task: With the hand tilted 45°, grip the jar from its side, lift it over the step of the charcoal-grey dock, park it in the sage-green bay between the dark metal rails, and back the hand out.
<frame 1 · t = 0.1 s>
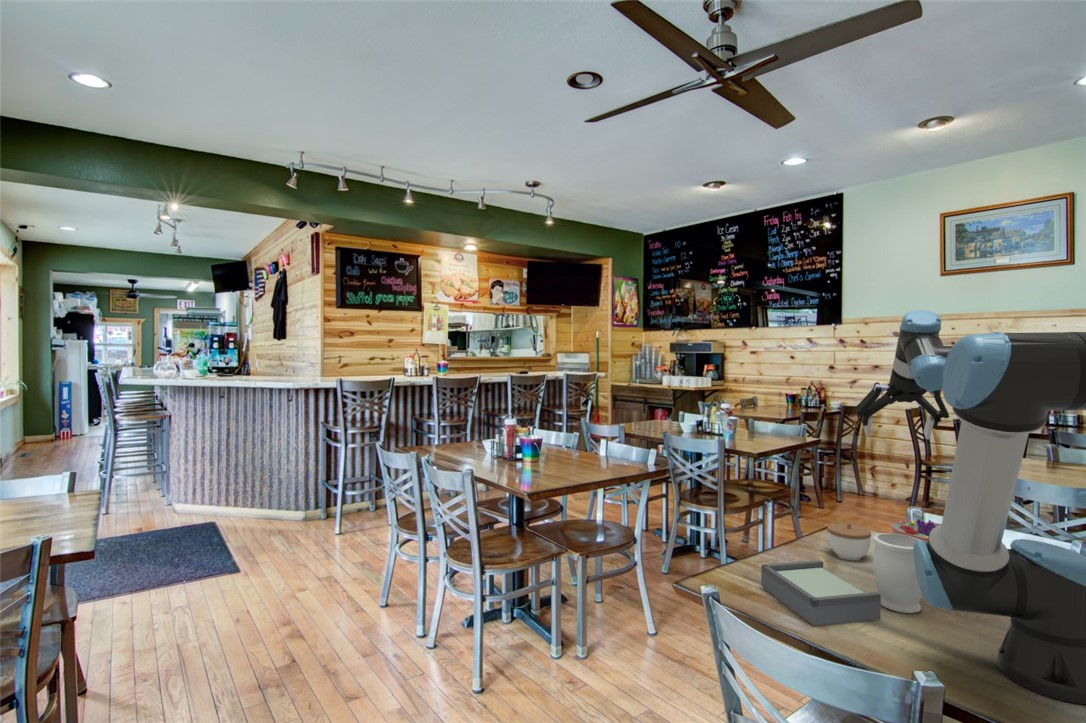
hand: (896, 434, 149), 36 cm above the table, tool tilted 35°, fingers open, 13 cm apart
lidded jar: (848, 557, 160), on the table
cell model: (931, 561, 157), on the table
dock: (817, 602, 132), on the table
jar: (898, 606, 130), on the table
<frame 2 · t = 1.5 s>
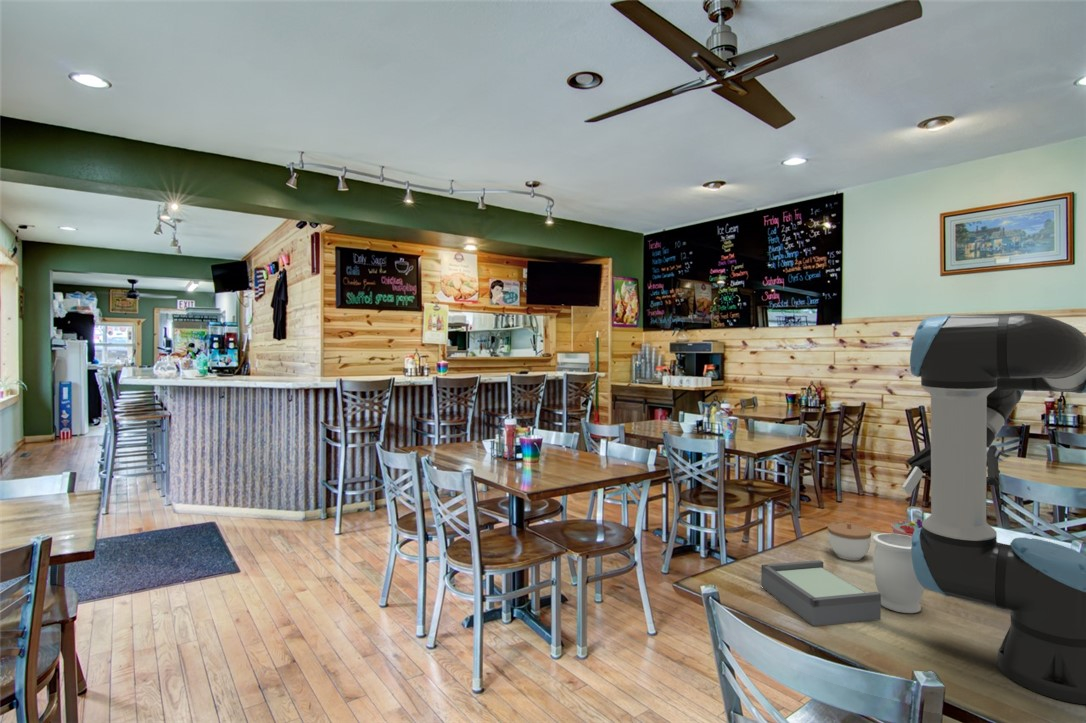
hand: (933, 497, 133), 23 cm above the table, tool tilted 45°, fingers open, 13 cm apart
nothing on the table moved.
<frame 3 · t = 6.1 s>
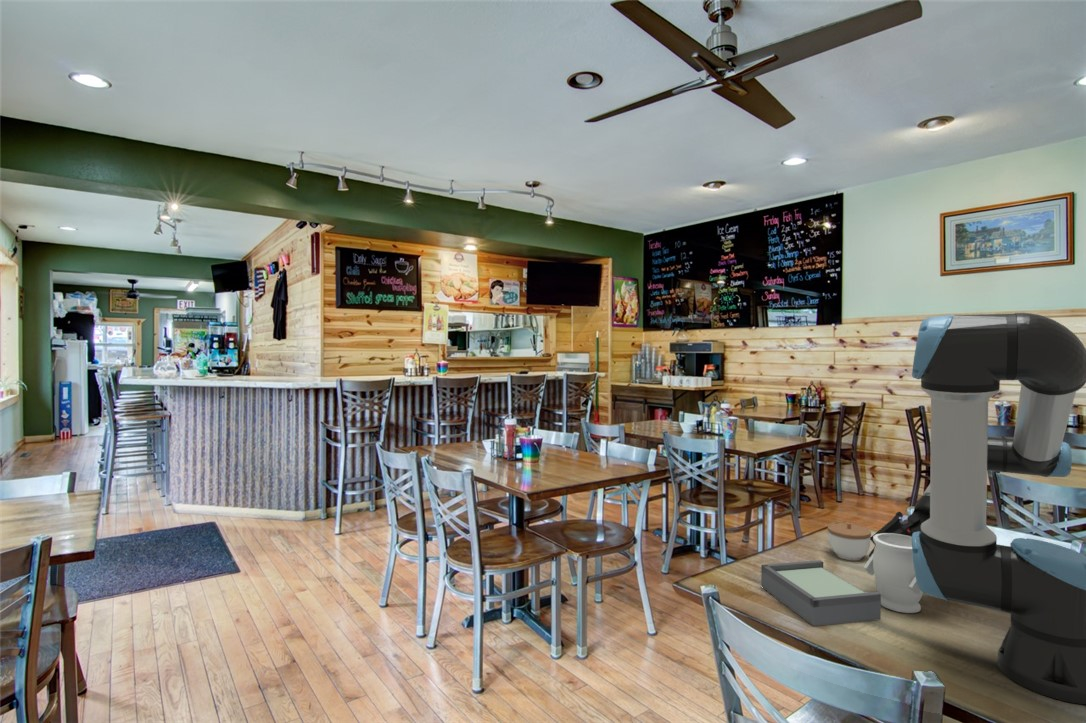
hand: (889, 580, 129), 6 cm above the table, tool tilted 45°, fingers closed on jar, 10 cm apart
jar: (898, 606, 130), on the table, touching gripper
everything else where it was.
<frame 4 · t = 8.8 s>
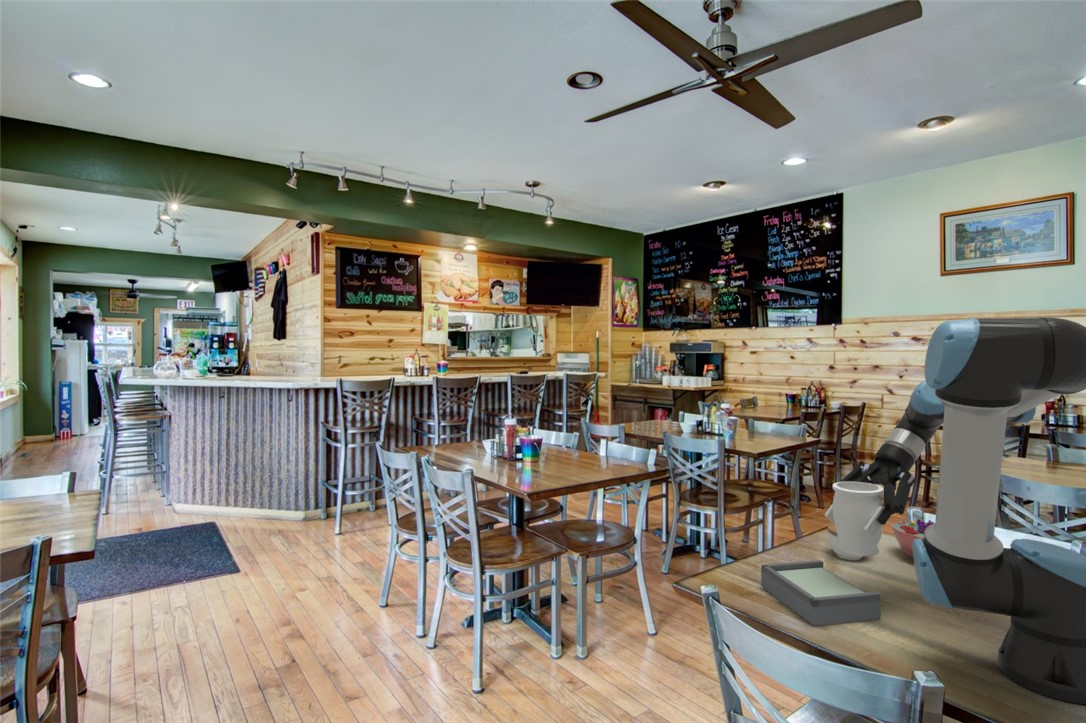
hand: (847, 525, 132), 18 cm above the table, tool tilted 45°, fingers closed on jar, 10 cm apart
jar: (858, 551, 133), point 11 cm above the table, touching gripper
everything else where it was.
when the fingers open (12 cm above the table, at t = 11.7 s): jar drops 2 cm, resting on dock.
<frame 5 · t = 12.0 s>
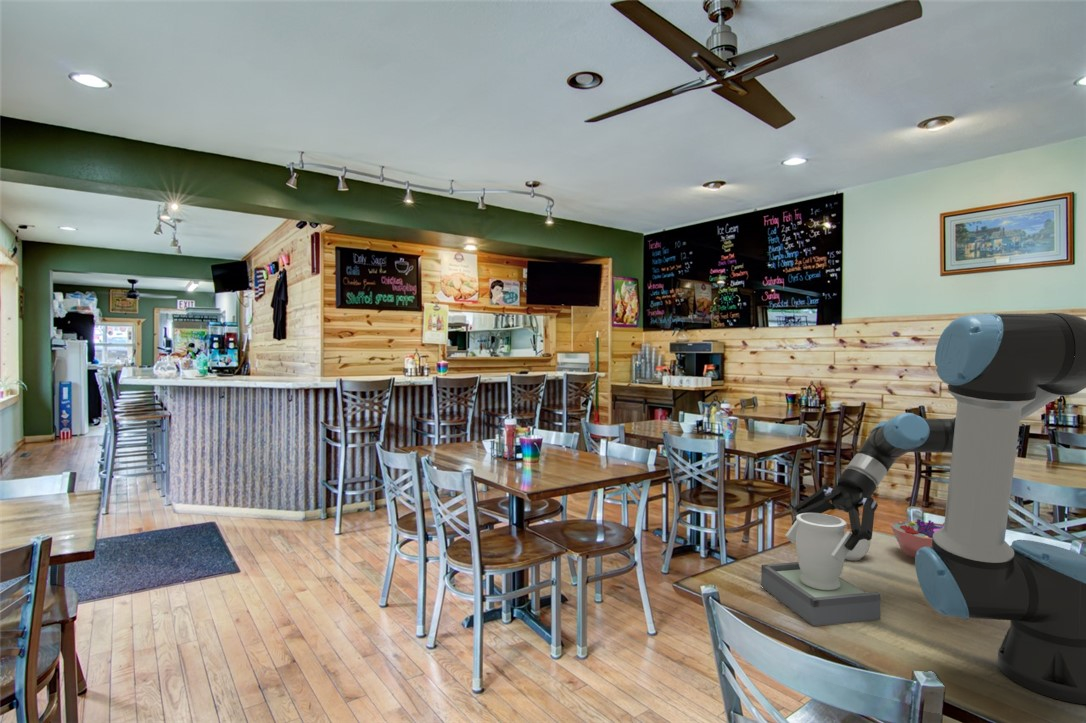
hand: (811, 548, 131), 13 cm above the table, tool tilted 45°, fingers open, 13 cm apart
jar: (819, 584, 132), point 4 cm above the table, touching dock
everything else where it was.
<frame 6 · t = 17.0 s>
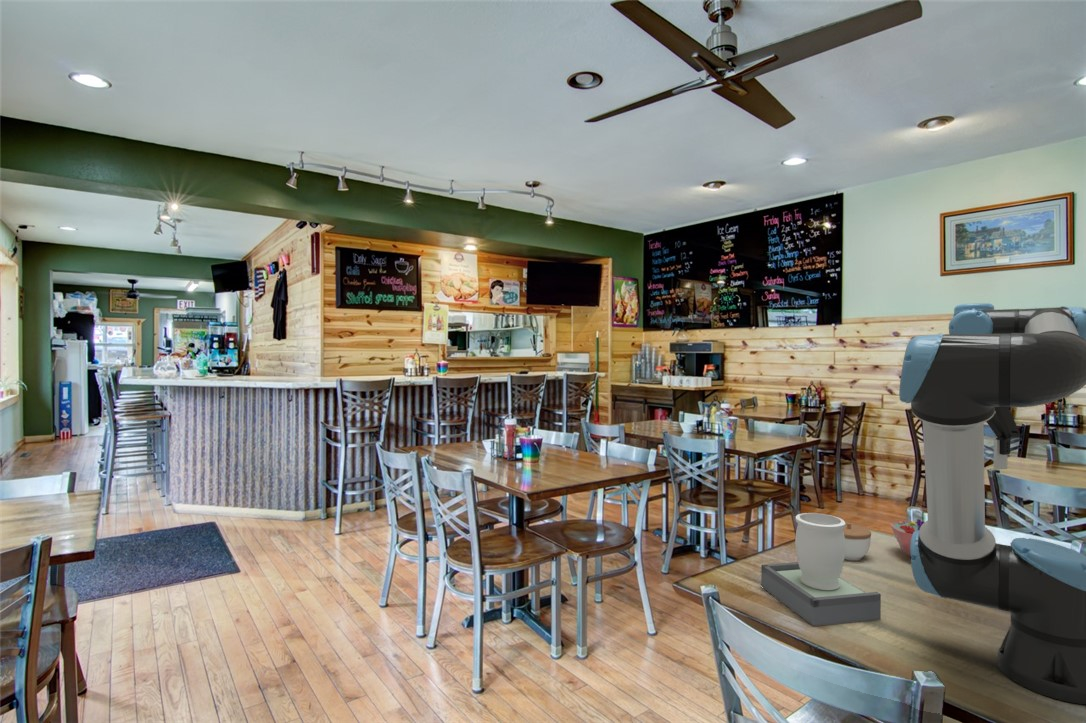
hand: (972, 462, 132), 32 cm above the table, tool pointing down, fingers open, 13 cm apart
nothing on the table moved.
at the end: jar inside the target area on the dock (0.1 cm from its centre), point 4.1 cm above the dock's base; jar tilted 0°; the gripper is holding nothing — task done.
